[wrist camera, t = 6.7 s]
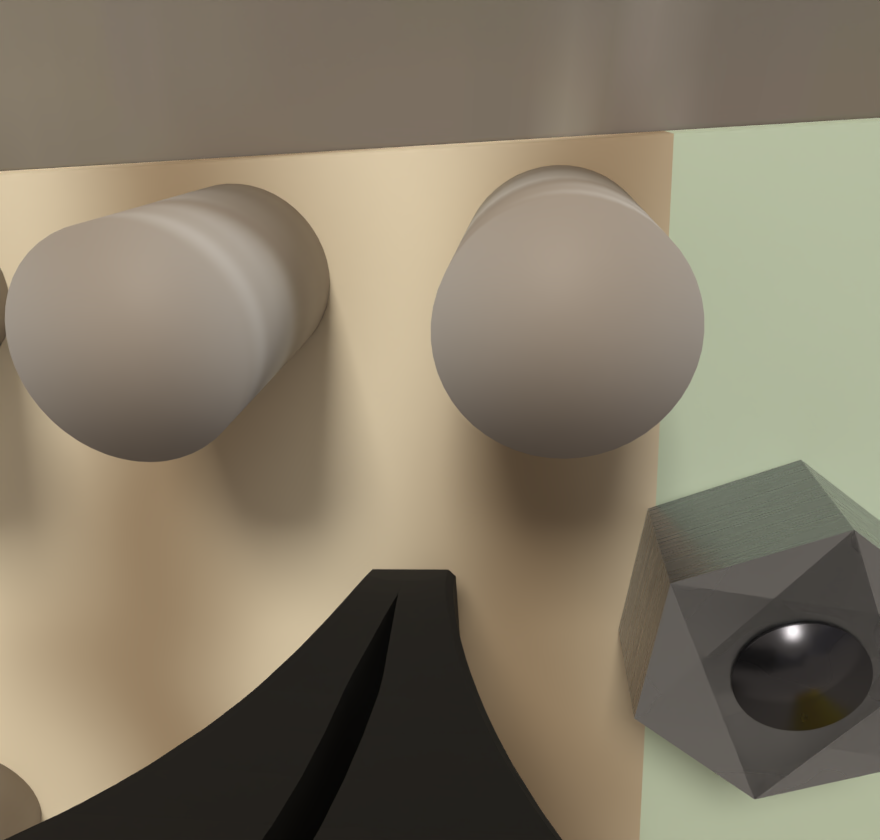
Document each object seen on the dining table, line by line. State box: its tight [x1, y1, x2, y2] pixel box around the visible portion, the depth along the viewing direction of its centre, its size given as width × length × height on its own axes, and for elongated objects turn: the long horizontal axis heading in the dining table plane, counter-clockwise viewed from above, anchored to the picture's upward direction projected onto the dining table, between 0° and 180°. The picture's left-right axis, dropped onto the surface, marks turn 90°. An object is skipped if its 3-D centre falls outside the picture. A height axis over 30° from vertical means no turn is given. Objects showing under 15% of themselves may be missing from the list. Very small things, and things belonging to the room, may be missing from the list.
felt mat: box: [639, 118, 880, 840], centre depth 13 cm, size 5×14×1 cm, turn 3°
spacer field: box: [0, 131, 704, 840], centre depth 12 cm, size 16×14×4 cm
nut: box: [618, 460, 880, 799], centre depth 11 cm, size 5×4×2 cm
